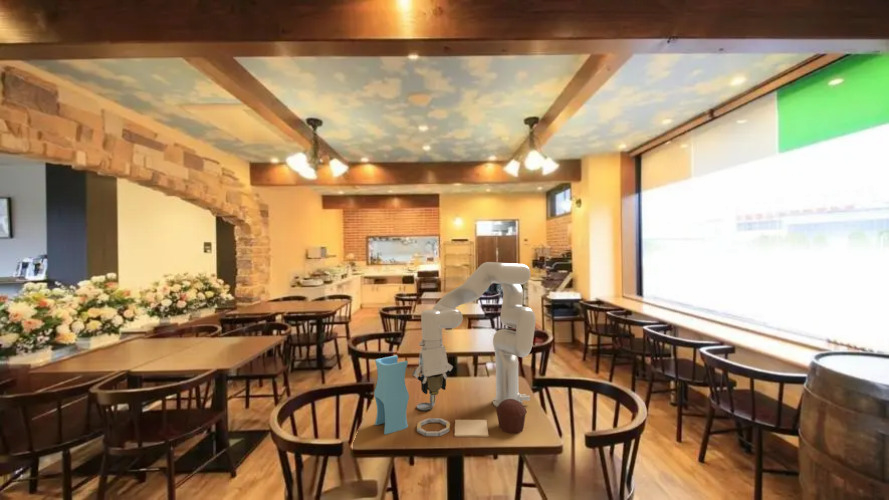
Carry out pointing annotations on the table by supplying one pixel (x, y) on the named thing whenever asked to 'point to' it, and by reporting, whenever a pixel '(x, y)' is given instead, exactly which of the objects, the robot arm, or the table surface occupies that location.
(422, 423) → the socket ring
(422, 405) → the pocket watch
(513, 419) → the muffin
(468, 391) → the table surface
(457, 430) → the cork mat
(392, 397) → the vase
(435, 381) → the cup
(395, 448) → the table surface
